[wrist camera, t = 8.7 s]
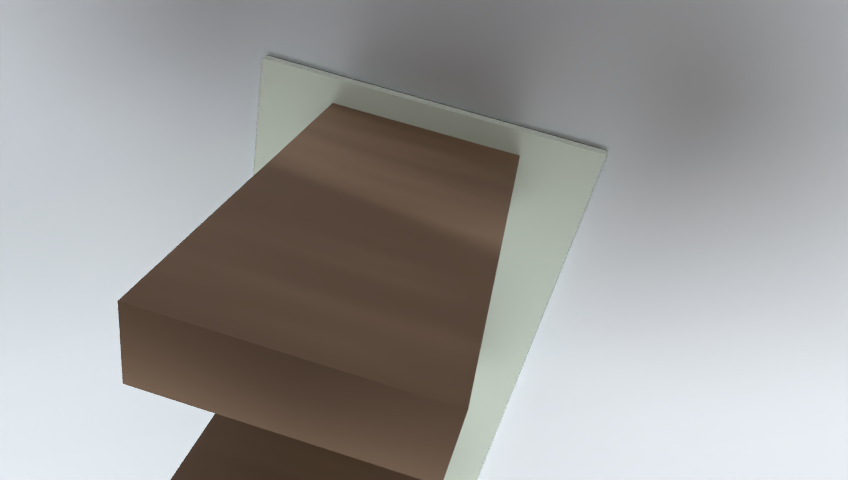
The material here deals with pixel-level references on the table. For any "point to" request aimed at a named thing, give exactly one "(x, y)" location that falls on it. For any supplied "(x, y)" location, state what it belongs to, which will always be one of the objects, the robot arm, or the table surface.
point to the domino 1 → (335, 293)
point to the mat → (524, 233)
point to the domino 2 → (269, 457)
